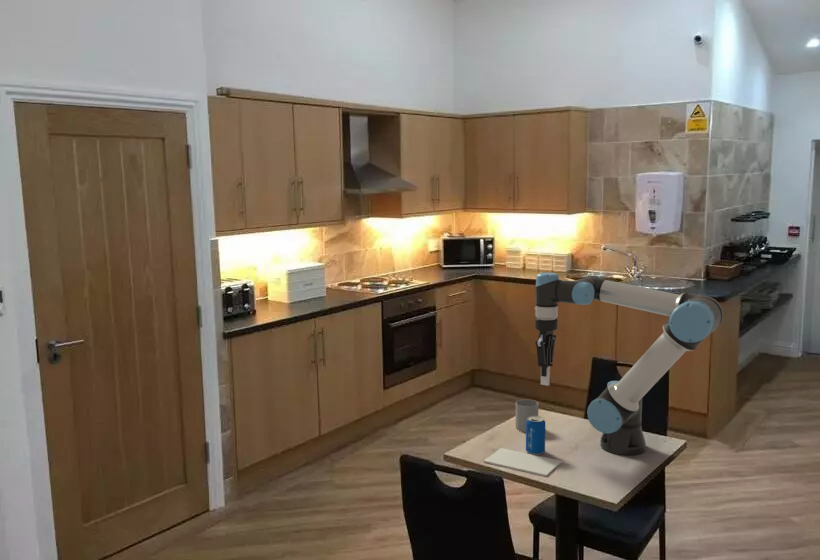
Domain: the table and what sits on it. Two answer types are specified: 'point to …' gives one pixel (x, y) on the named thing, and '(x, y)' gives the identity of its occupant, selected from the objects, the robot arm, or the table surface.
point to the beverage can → (535, 435)
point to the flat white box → (523, 462)
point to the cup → (525, 412)
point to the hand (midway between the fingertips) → (545, 384)
